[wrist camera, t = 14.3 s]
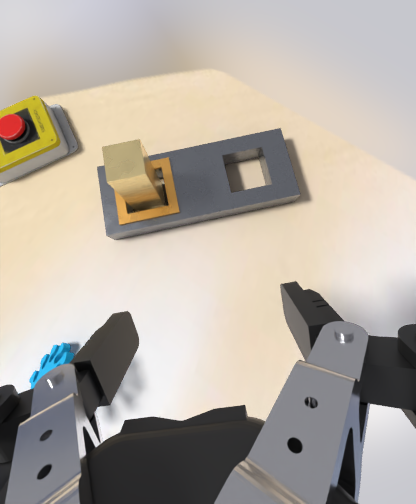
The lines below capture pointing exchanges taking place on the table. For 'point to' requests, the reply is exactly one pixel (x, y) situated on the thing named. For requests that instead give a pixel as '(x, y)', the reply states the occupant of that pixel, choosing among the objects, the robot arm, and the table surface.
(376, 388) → the robot arm
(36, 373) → the gear
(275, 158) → the peg board
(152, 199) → the brass peg
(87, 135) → the table surface
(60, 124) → the emergency button
